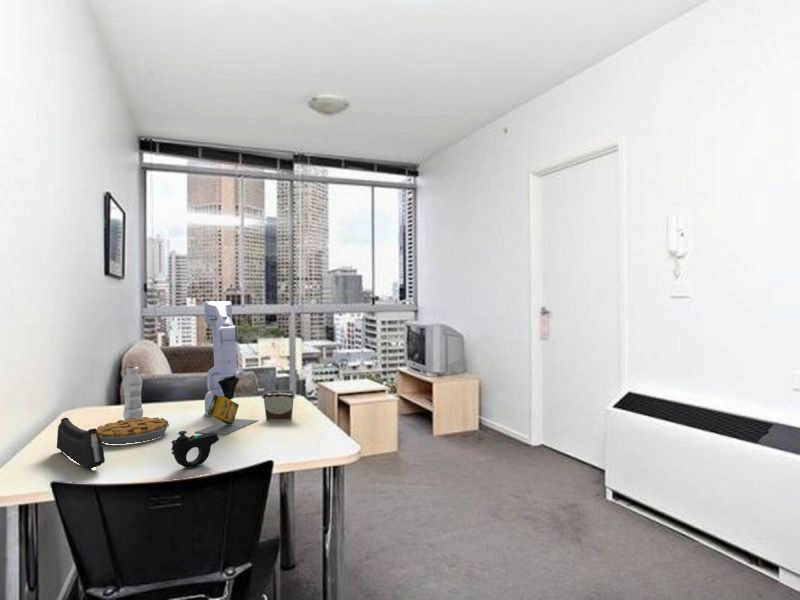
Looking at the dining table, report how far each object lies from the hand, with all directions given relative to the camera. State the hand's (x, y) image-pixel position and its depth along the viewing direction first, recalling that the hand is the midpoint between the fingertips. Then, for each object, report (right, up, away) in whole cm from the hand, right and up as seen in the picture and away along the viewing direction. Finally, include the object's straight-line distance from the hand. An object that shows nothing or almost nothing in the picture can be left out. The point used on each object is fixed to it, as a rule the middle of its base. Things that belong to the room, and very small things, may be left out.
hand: (229, 398), depth 177 cm
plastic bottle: (-39, -10, +10) cm, 41 cm away
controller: (+5, -10, -41) cm, 42 cm away
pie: (-28, -11, -12) cm, 32 cm away
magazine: (-30, -11, -35) cm, 48 cm away
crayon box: (+1, -6, +3) cm, 7 cm away
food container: (+16, -9, +10) cm, 21 cm away
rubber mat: (0, -10, -1) cm, 10 cm away
